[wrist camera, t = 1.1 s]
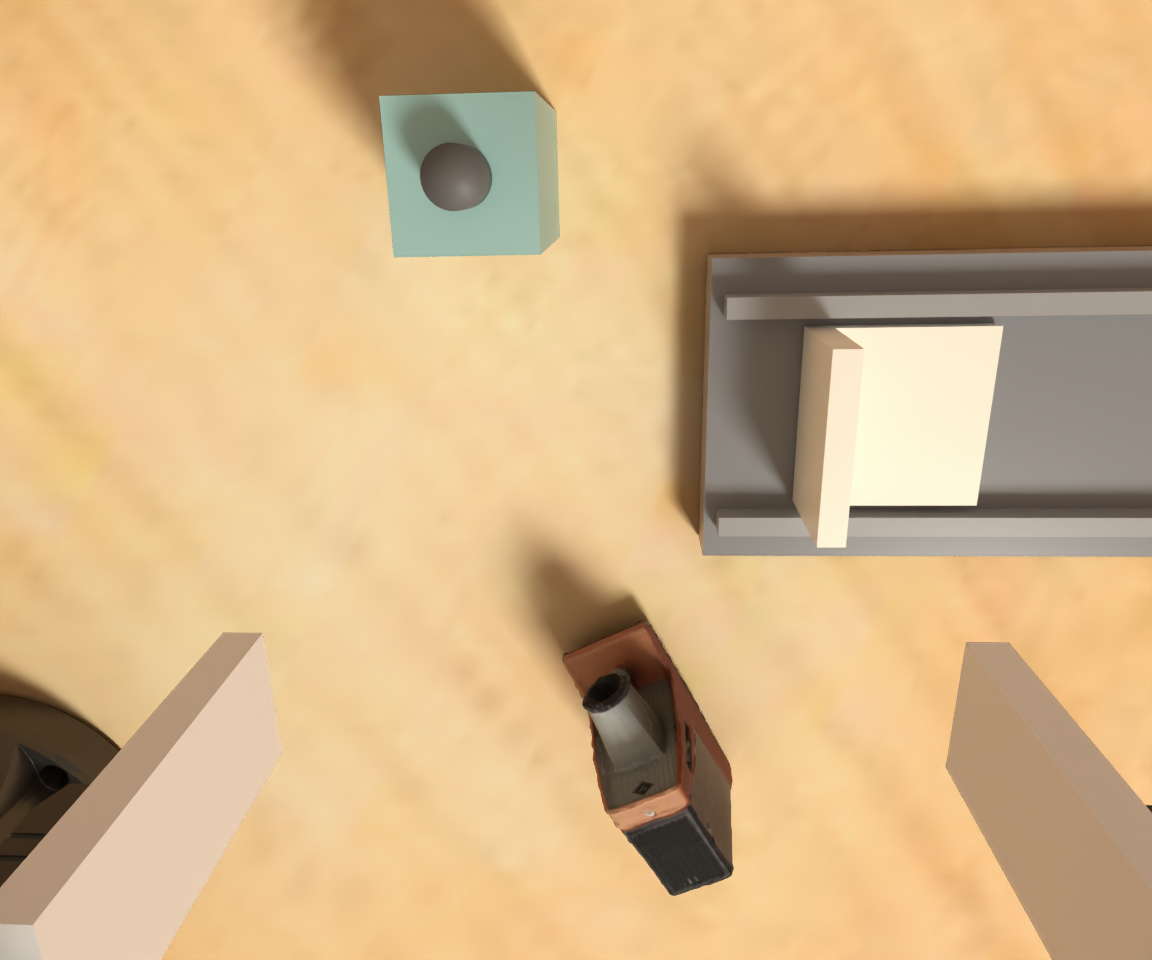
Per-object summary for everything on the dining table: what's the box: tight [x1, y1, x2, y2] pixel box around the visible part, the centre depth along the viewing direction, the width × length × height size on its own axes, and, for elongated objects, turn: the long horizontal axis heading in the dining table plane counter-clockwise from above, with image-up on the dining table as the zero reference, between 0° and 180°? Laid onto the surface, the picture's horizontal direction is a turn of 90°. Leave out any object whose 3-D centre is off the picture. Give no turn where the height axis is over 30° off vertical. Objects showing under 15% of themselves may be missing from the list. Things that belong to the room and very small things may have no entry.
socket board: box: [699, 246, 1152, 557], centre depth 33 cm, size 20×12×3 cm, turn 91°
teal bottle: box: [379, 91, 560, 257], centre depth 28 cm, size 4×4×10 cm
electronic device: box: [562, 621, 734, 896], centre depth 37 cm, size 4×10×8 cm, turn 28°
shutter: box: [792, 323, 1003, 548], centre depth 30 cm, size 7×7×5 cm
